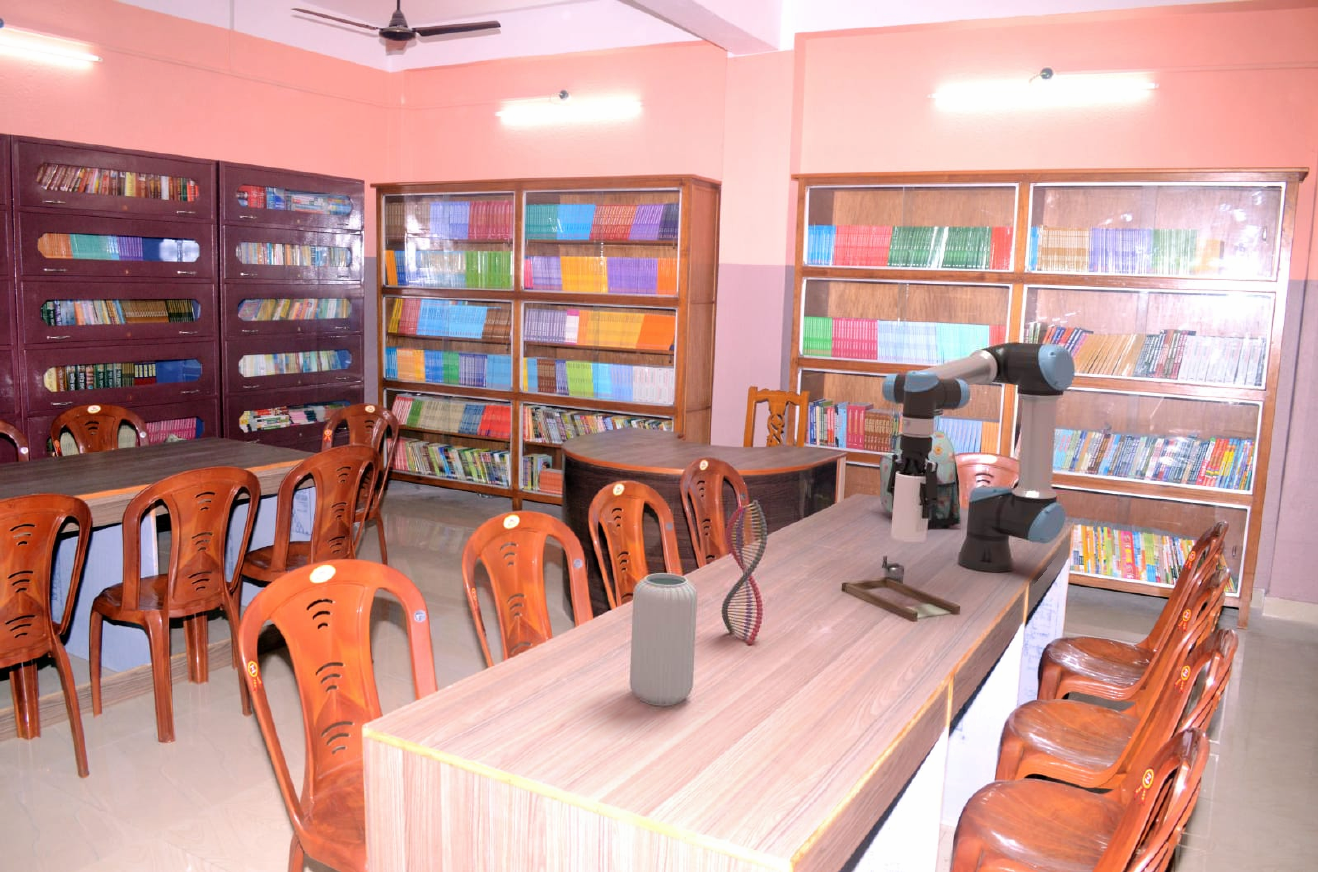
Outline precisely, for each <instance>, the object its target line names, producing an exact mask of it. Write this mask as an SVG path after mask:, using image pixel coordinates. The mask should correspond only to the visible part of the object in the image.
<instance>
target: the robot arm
mask: <svg viewBox="0 0 1318 872" xmlns="http://www.w3.org/2000/svg"><path fill="white" fill-rule="evenodd" d="M1075 369H1076V368H1075V361H1074V359H1073V357H1072V354H1070V352H1069V350H1068V349H1067V348H1065V346H1061V345H1058V344H1051V343H1034V342H1032V343H1030V342H1019V341H1017V342H1016V341H1013V342H1011V341H1010V342H1004V343H999V344H996V345H991V346H988V347H985V348H982V349H978V350H975V351H973V352H971V354H970V355H969V356H967V357H963V358H961V359H960V358H959V359H956V360H953V361H948V362H945V363H942V364H938V365H935V366H932V367H929V368H925V369H921V370H909V371H907V372H906V373H905V374H903V373H899V372H898V373H890V374H888V375H886V376H885V378H884V379H883V382H882V385H881V393H882V396H883V399H885V400H886V401H888V402H891V403H895V404H897V405H899V404H900V405H903V407H902V416H901V427H900V428H901V429H900V432H901V433H904V434H903V435H901V437H900V449H901V450H902V454H892V468H891V472H890V477H889V482H888V487H887V492H888V493H891V494H892V496H893V500H892V509H893V504H894V491H895V478H896V472H898V471H899V472H900V474H901V475H906V476H910V475H911V474H914V476H915V477H926V483H925V484H923V483H921V482H920V493H919V495H920V500H921V503H919V505H918V517H917V529H916V531H917V532H923V531H926V532H928V528H929V527H928V518H929V517H930V508H931V505H932V504H937V503H938V489H937V469H938V463H937V462H931V461H929V457H928V454H929V452H931V450H932V440H933V438H932V437H930V435H932V434H933V430H935V429H934V426H935V412H936V411H939V410H943V411H944V410H947V411H948V410H949V411H950V410H952V411H955V410H958V409H959V410H960V409H962V408H964V407H966V406H967V405H968V403H969V402H970V398H971V388H970V386H972V385H976V384H979V385H989V384H994V383H995V384H1004V385H1005V384H1006V385H1013V386H1016V389H1017V391H1016V393H1017V394H1016V395H1018V396H1019V398H1021V399H1022V404H1021V405H1022V408H1021V409H1022V410H1021V426H1020V427H1021V428H1020V445H1019V461H1018V466H1019V467H1018V480H1017V481H1018V483H1017V486H1016V487H1015V488H1013V487H1010V486H999V485H997V486H996V485H995V486H992V485H991V486H977V487H974V488H972V489H971V490H970V493H969V494H970V495H969V498H968V499H969V500H968V512H967V525H966V537H965V539H964V541H963V543H962V546H961V549H960V551H959V552H958V555H957V564H958V565H960V566H962V567H965V568H967V569H971V570H975V571H980V572H988V573H1004V572H1005V573H1006V572H1009V571H1012V570H1013V569H1014V568H1013V567H1014V560H1013V557H1012V552H1011V547H1010V542H1009V541H1010V540H1009V538H1010V537H1014V538H1016V539H1017V538H1018V539H1021V540H1026V541H1029V542H1031V543H1039V544H1049V543H1051V542H1052V541H1054V540H1055V539H1057V537H1058V536H1059V534H1060V533H1061V531H1062V530H1063V528H1064V526H1065V520H1066V509H1065V506H1063V504H1061V503H1060V502H1058V493H1057V492H1056V491H1055V490H1054V489H1053V473H1054V471H1053V467H1054V457H1055V456H1054V454H1055V435H1056V434H1055V433H1056V422H1057V402H1058V400H1059V399H1061V398H1062V397H1063V396H1064V393H1065V392H1064V390H1067V389H1068V388H1070V386H1072V384H1073V382H1072V381H1073V380H1074V378H1075ZM922 472H923V474H921V473H922ZM892 487H893V488H892ZM926 498H927V500H926ZM932 498H933V499H932ZM892 517H893V514H892V515H891V518H892Z"/></svg>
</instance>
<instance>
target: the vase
mask: <svg viewBox="0 0 1318 872" xmlns="http://www.w3.org/2000/svg"><path fill="white" fill-rule="evenodd" d="M632 594H633V595H632V617H631V620H632V621H631V641H630V642H631V643H630V665H629V666H630V667H629V668H630V669H629V686H630V689H631V691H632V693H633V694H634V695H635V696H636V698H638V699H639V700H640V701H642V702H644V703H646V704H648V705H652V706H659V707H661V706H662V707H664V706H665V707H666V706H672V705H676V704H679V703H680V702H681V701H683V700H685V699H686V698H687V697H688V696H689V695H690V694H691V692H692V689H693V687H694V671H695V670H694V669H695V653H696V652H695V651H696V650H695V649H696V629H697V612H698V610H697V608H698V592H697V589H696V587H695V585H694V584H693V582H691V581H690V580H688V579H687V577H685V576H683V575H680V574H675V573H668V572H667V573H666V572H662V573H661V572H657V573H651V574H648V575H646V576H645V577H643V578H641V580H639V581H638V582H637V583H636V584H635V586H634V588H633V593H632Z"/></svg>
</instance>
